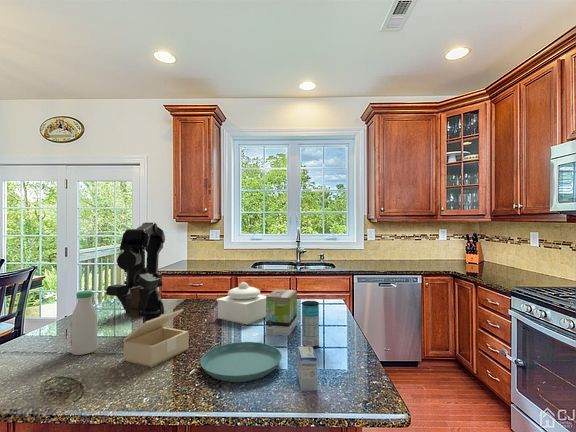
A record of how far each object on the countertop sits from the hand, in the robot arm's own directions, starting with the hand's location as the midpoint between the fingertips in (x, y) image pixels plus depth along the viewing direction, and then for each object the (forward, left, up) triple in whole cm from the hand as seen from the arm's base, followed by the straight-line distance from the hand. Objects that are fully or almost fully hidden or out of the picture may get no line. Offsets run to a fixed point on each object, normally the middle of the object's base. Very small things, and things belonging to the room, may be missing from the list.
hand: (135, 311), depth 115 cm
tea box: (+36, +40, -13) cm, 55 cm away
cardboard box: (+10, 0, -13) cm, 16 cm away
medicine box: (+62, +2, -13) cm, 63 cm away
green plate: (+40, +4, -14) cm, 42 cm away
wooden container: (-36, +35, -13) cm, 52 cm away
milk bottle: (-15, -8, -13) cm, 22 cm away
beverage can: (+53, +28, -13) cm, 61 cm away
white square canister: (+13, +49, -14) cm, 52 cm away
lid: (+9, 0, -3) cm, 10 cm away
